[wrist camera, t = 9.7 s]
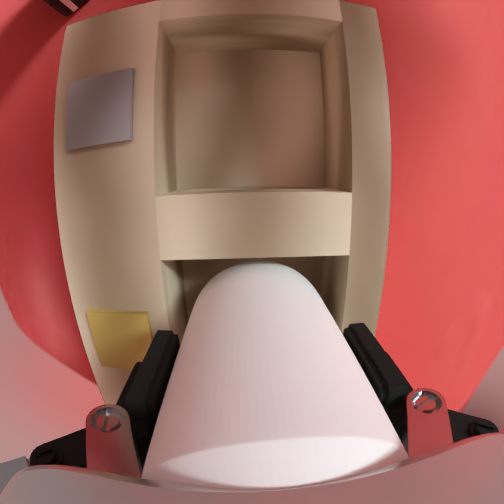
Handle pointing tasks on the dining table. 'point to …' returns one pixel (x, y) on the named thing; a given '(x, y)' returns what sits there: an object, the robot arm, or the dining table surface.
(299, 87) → the holder block
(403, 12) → the dining table surface
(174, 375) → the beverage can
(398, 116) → the dining table surface
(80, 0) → the battery charger
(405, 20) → the dining table surface
